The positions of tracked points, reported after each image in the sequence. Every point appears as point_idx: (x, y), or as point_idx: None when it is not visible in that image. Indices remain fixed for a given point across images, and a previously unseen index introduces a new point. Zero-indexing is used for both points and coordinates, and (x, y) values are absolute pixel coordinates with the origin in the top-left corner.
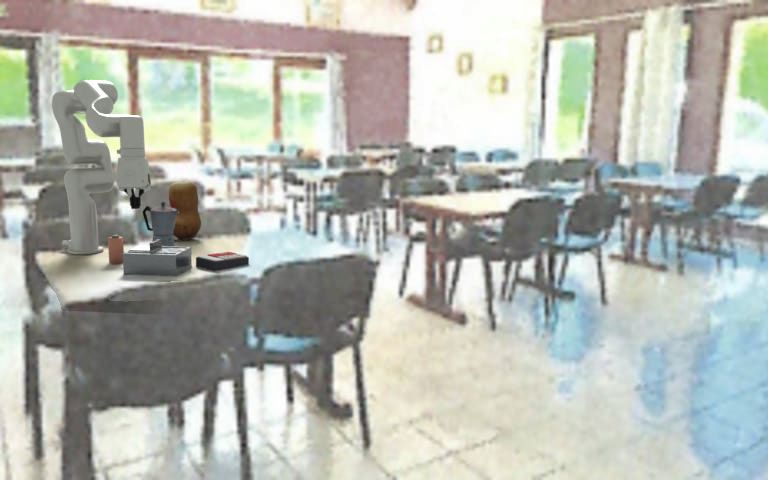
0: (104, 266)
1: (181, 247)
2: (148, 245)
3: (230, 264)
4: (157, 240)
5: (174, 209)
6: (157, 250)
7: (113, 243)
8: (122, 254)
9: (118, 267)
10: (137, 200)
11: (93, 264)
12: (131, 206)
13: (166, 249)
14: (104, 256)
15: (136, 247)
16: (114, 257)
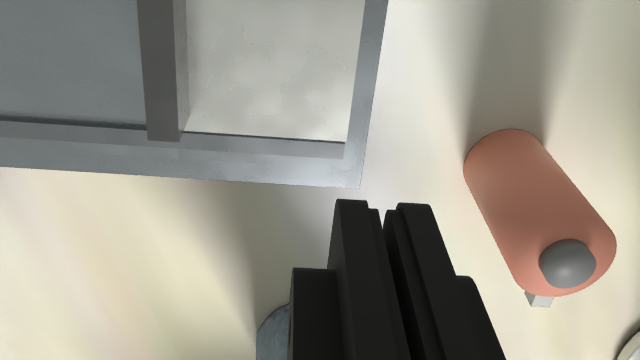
0: (557, 69)
1: (10, 121)
2: (275, 130)
3: None
4: (156, 87)
5: None
6: None
7: (558, 197)
8: (481, 183)
9: (467, 49)
10: (319, 348)
11: (628, 113)
12: (429, 223)
13: (100, 57)
14: None
15: (342, 46)
16: (520, 147)
